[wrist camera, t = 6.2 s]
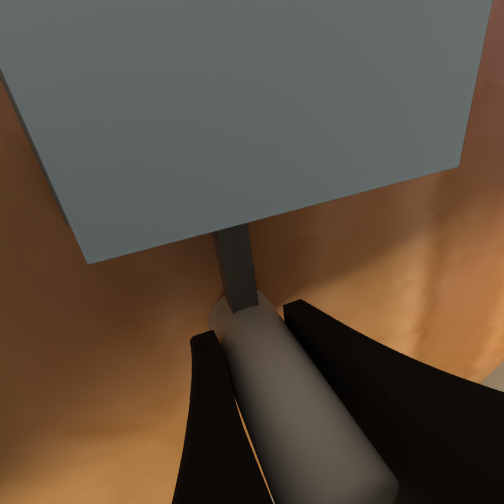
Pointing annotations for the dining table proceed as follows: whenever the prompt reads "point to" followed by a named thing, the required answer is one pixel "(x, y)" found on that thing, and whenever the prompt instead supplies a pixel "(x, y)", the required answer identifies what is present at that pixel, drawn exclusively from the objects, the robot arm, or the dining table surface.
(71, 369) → the dining table surface
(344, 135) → the pull block
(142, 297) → the dining table surface
